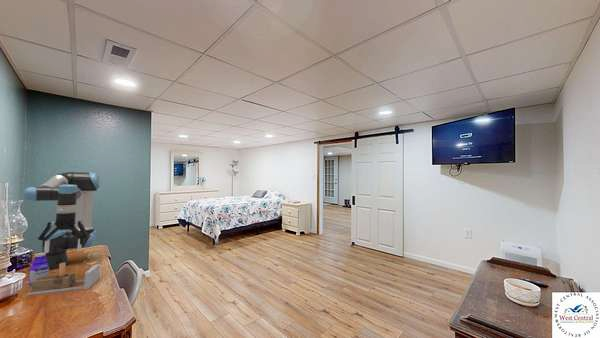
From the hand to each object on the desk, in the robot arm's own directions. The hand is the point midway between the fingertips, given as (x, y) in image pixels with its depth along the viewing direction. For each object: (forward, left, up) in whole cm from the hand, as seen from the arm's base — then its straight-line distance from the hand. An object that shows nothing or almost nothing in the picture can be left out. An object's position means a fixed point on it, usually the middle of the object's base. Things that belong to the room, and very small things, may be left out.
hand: (63, 251), depth 127 cm
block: (0, -2, -19) cm, 19 cm away
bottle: (-12, -14, -21) cm, 28 cm away
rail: (0, +2, -21) cm, 21 cm away
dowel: (0, +1, -18) cm, 18 cm away
